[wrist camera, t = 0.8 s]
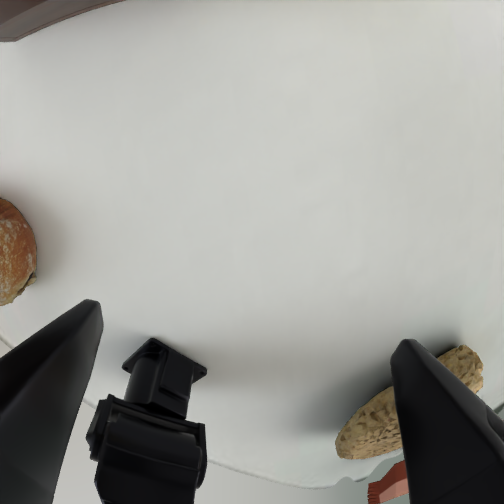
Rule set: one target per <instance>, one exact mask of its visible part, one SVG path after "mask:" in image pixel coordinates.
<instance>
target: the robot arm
mask: <svg viewBox="0 0 504 504" xmlns="http://www.w3.org/2000/svg"><path fill="white" fill-rule="evenodd" d="M102 332H103V317H102V311H101V306H100V303H99V302H98V301H94V300H89V299H86V300H84V301H82V302H81V303H79V304H78V305H76V306H75V307H73V308H72V309H70V310H69V311H67V312H66V313H64V314H63V315H61V316H60V317H58V318H57V319H55V320H54V321H52V322H51V323H49V324H48V325H46V326H45V327H44V328H42V329H41V330H39V331H38V332H36V333H35V334H33V335H32V336H31V337H29V338H28V339H26V340H25V341H24V342H22V343H21V344H19V345H18V346H17V347H15V348H14V349H12V350H11V351H10V352H8V353H7V354H5V355H4V356H3V357H1V358H0V504H52V502H53V498H54V493H55V489H56V485H57V481H58V477H59V474H60V469H61V466H62V462H63V459H64V455H65V452H66V449H67V445H68V442H69V439H70V435H71V432H72V429H73V426H74V423H75V420H76V417H77V414H78V411H79V408H80V405H81V402H82V399H83V396H84V393H85V391H86V388H87V385H88V382H89V380H90V377H91V373H92V370H93V366H94V362H95V358H96V354H97V350H98V346H99V343H100V339H101V335H102ZM390 365H391V373H392V382H393V392H394V401H395V407H396V413H397V418H398V424H399V429H400V435H401V441H402V447H403V453H404V460H405V467H406V474H407V482H408V490H409V499H410V504H504V420H503V419H502V418H501V417H499V416H498V415H497V414H496V413H495V412H494V411H493V410H492V409H491V408H490V407H489V406H488V405H486V403H484V402H483V401H482V400H481V399H480V398H479V397H478V396H477V395H476V394H475V393H474V392H473V391H472V390H471V389H469V388H468V387H467V386H466V385H465V384H464V383H463V382H462V381H461V380H460V379H459V378H458V377H456V376H455V375H454V374H453V373H452V372H451V371H450V370H449V369H448V368H447V367H445V366H444V365H443V364H442V363H441V362H440V361H439V360H438V359H437V358H435V357H434V356H433V355H432V354H431V353H430V352H429V351H428V350H426V349H425V348H424V347H423V346H422V345H421V344H420V343H418V342H417V341H416V340H415V339H403V340H402V341H401V342H400V344H399V345H398V347H397V348H396V350H395V351H394V353H393V354H392V356H391V360H390ZM122 369H123V370H125V371H126V372H128V373H130V374H131V376H130V379H129V382H128V386H127V389H126V393H125V396H124V400H122V399H119V398H116V397H114V395H111V394H109V395H108V397H107V399H105V400H99V403H98V406H97V409H96V412H95V415H94V418H93V420H92V422H91V424H90V427H89V430H88V432H87V434H86V440H87V442H88V444H89V446H90V449H89V450H90V451H91V454H90V459H91V460H94V461H97V462H98V466H97V470H96V474H95V479H94V483H95V486H96V489H97V491H98V494H99V496H100V499H101V502H102V504H194V497H195V491H196V489H198V488H199V487H200V486H201V484H202V482H203V480H204V477H205V473H206V468H207V450H206V435H205V424H202V423H195V422H191V421H187V420H185V419H186V416H187V408H188V401H189V399H190V392H191V385H192V384H193V383H194V382H196V381H198V380H199V379H201V378H202V377H204V376H205V375H206V374H207V369H206V368H205V367H203V366H201V365H200V364H198V363H196V362H194V361H192V360H191V359H189V358H187V357H185V356H184V355H182V354H180V353H178V352H177V351H175V350H173V349H172V348H170V347H168V346H167V345H165V344H163V343H162V342H160V341H158V340H157V339H155V338H150V339H149V340H147V341H146V342H145V343H144V344H143V345H142V346H141V347H140V348H139V349H138V350H137V351H136V352H135V353H134V354H132V355H131V356H130V357H129V358H128V359H127V360H126V361H125V362H124V363H123V365H122Z"/></svg>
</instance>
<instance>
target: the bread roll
mask: <svg viewBox="0 0 504 504" xmlns="http://www.w3.org/2000/svg"><path fill="white" fill-rule="evenodd" d="M36 250H37V247H36V243H35V238H34V234H33V232H32V230H31V228H30V226H29V225H28V223H27V222H26V220H25V219H24V217H23V216H22V215H21V213H20V212H19V211H18V210H17V209H16V208H15V207H14V206H13V205H12V204H11V203H10V202H7V201H6V200H3V199H1V198H0V306H3V305H6V304H9V303H12V302H13V300H14V299H15V298H16V297H17V296H18V295H21V293H23V291H24V290H25V288H26V286H29V285H31V284H33V283H34V282H35V281H36V276H35V270H36V262H37V261H36Z"/></svg>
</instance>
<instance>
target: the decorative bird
mask: <svg viewBox="0 0 504 504" xmlns="http://www.w3.org/2000/svg"><path fill="white" fill-rule="evenodd" d="M407 493H409V490H408V482H407V474H406V467H405V460H403V461H401V462H399V463H396V464H394V466H393V467H392V468H391V469H390V470H389V471H388V472H387V474H386V475H385V476H384V477H383V478H382V479H381V480H380V481H377V482H373V483H369V488H368V494H370V495H368V498H369V499H368V504H380V503H383V502H385V501H388V500H390V499H393V498H395V497H398V496H401V495H404V494H407Z"/></svg>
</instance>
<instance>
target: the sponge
mask: <svg viewBox="0 0 504 504" xmlns="http://www.w3.org/2000/svg"><path fill="white" fill-rule="evenodd" d="M437 359H438V360H439V361H440V362H441V363H442V364H443V365H444V366H445V367H447V368H448V369H449V370H450V371H451V372H452V373H453V374H454V375H455V376H456V377H458V378H459V379H460V380H461V381H462V382H463V383H464V384H465V385H466V386H467V387H468V388H469V389H471V390H472V391H473V392H474V393H475V394H476V393H477V391H479V390H480V389H481V388H482V387H483V377H482V376H480V375H481V371H482V370H483V363H482V362H481V360H480V358H479V356H478V355H477V353H476V352H473V351H472V350H471V349H470V348H469V347H467V346H466V345H460V346H459V347H458V348H454V349H452V350H450V351H448V352H446V353H445V354H443V355H441V356H440V357H438V358H437ZM346 423H347V424H346V425H345V426H344V427H343V428H342V430H341V431H340V432H339V433H338V436H337V438H336V440H335V445H336V451H337V454H338V456H339V457H340V458H345V459H366V458H370V457H374V456H378V455H381V454H385V453H388V452H391V451H393V450H396V449H399V448H401V447H402V441H401V435H400V429H399V424H398V418H397V413H396V407H395V401H394V392H393V386H391V387H389V388H387V389H385V390H384V391H382V392H380V393H378V394H377V395H376V396H375V397H373V398H372V399H371V400H370V401H369V402H368V403H367V404H365V405H364V406H362V407H361V408H360V409H358V411H357V412H356V413H355V414H354V416H352V417H351V419H350V420H349V421H348V422H346Z"/></svg>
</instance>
